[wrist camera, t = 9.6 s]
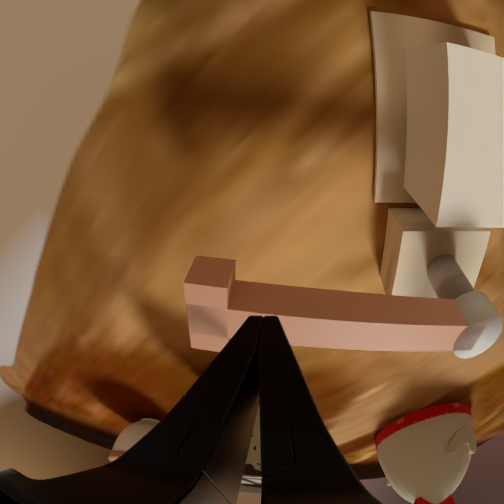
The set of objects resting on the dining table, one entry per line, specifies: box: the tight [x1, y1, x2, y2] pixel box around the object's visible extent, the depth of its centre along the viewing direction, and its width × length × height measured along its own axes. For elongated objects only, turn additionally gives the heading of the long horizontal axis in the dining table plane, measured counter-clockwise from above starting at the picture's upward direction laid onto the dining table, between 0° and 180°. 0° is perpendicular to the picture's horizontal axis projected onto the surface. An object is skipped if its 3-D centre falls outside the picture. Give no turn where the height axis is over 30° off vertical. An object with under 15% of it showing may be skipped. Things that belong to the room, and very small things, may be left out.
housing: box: [369, 11, 496, 299], centre depth 12 cm, size 8×16×7 cm, turn 6°
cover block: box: [403, 42, 504, 228], centre depth 12 cm, size 5×8×5 cm, turn 6°
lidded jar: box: [108, 418, 160, 462], centre depth 34 cm, size 11×11×9 cm
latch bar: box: [183, 256, 502, 358], centre depth 12 cm, size 4×14×2 cm, turn 87°
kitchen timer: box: [375, 403, 476, 504], centre depth 26 cm, size 14×14×15 cm
